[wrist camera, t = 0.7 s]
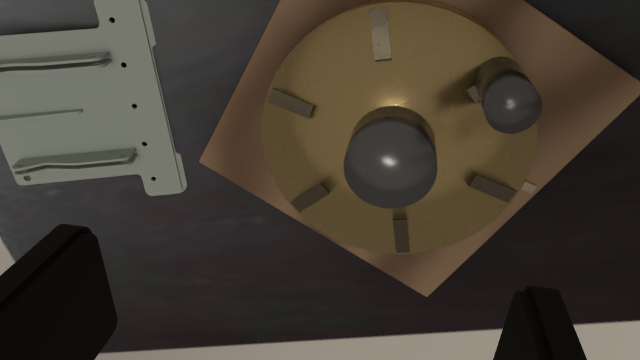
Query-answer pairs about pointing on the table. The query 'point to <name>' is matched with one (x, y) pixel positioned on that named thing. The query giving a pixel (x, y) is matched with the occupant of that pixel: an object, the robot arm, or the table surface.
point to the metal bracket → (88, 103)
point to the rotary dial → (400, 126)
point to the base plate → (529, 52)
